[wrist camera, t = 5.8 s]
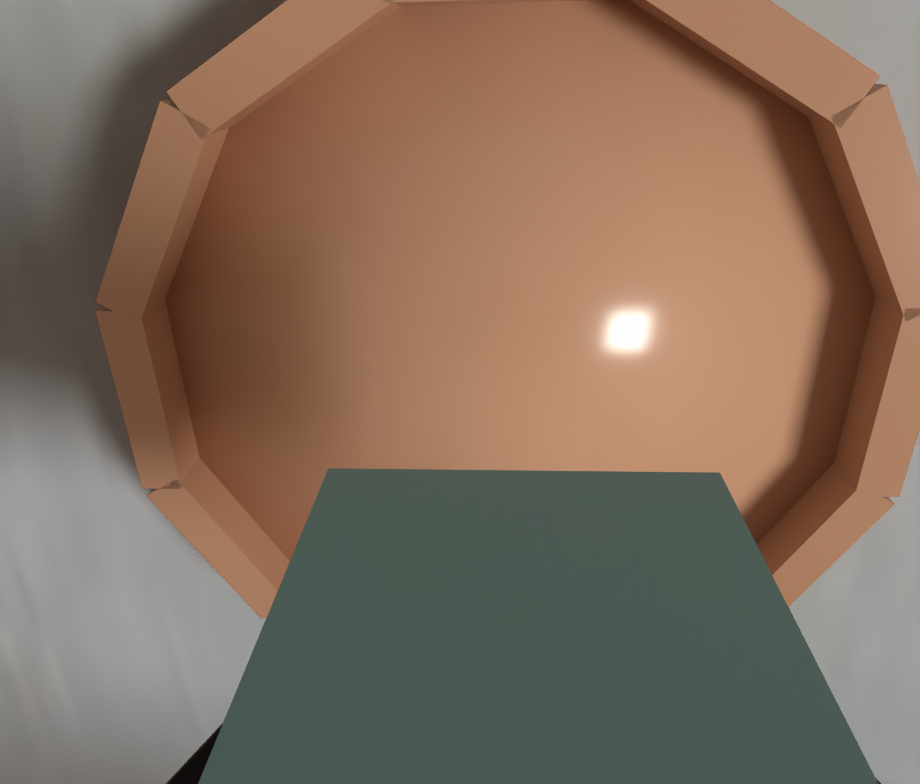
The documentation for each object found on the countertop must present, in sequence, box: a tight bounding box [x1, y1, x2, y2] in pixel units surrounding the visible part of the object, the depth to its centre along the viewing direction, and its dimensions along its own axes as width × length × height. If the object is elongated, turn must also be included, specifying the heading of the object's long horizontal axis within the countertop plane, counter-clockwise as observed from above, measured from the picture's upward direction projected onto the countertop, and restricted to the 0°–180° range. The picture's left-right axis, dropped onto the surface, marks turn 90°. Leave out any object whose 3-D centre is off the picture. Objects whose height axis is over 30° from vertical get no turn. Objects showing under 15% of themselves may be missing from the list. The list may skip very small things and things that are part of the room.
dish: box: [95, 0, 920, 619], centre depth 17 cm, size 18×18×2 cm
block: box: [198, 468, 878, 784], centre depth 8 cm, size 5×5×5 cm
